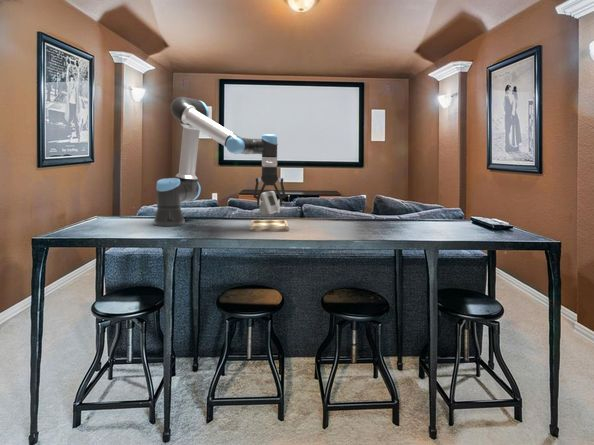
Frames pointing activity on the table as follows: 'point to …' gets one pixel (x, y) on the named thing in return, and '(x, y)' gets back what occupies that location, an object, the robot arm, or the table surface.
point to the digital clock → (269, 203)
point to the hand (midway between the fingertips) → (269, 212)
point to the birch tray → (269, 225)
